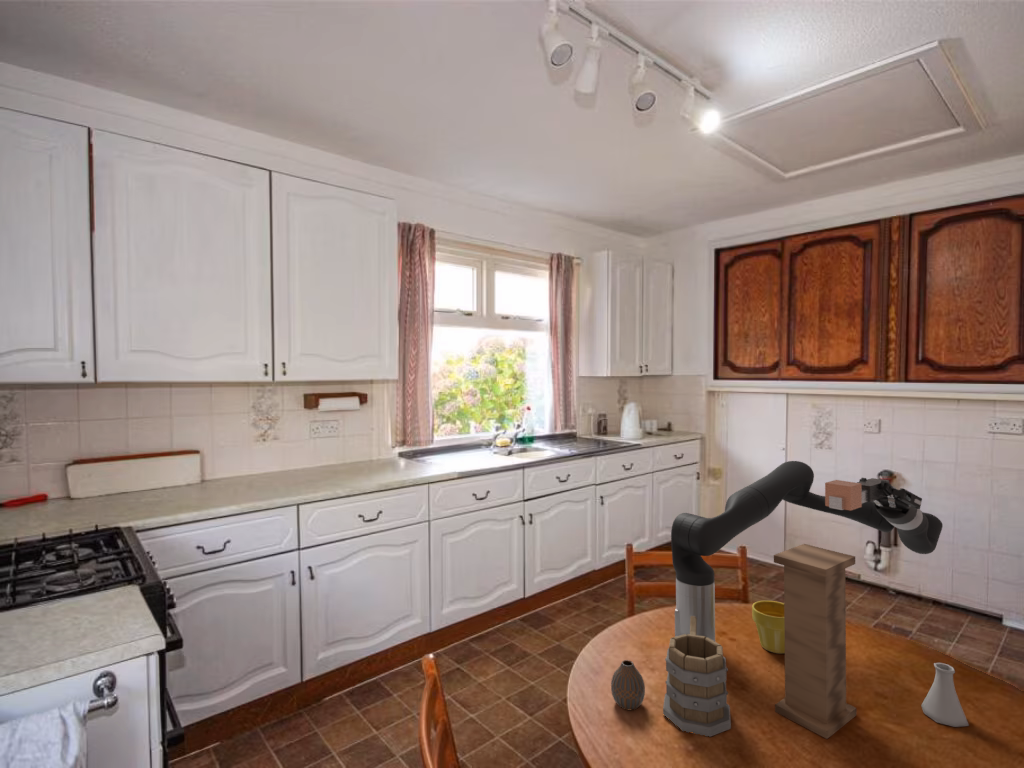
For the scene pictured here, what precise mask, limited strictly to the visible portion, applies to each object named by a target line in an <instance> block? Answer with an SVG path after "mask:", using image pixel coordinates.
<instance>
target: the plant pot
mask: <svg viewBox="0 0 1024 768" xmlns="http://www.w3.org/2000/svg"><path fill="white" fill-rule="evenodd" d="M751 615H752V616H751V617H752V620H753V622H754V623H755V626H756V630H757V633H758V634H757V635H758V638H759V643H760V645H761V647H762V648H763V649H764V650H766V651H768V652H769V653H770V652H771V653H772V654H773V653H774V654H780V655H781V654H784V655H785V627H784V602H780V601H776V600H775V601H774V600H758V601H756V602H754V603H753V604H752V605H751Z"/></svg>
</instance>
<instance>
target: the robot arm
mask: <svg viewBox="0 0 1024 768" xmlns="http://www.w3.org/2000/svg"><path fill="white" fill-rule="evenodd" d="M814 480H815V474H814V471H813V469H812V467H811V466H809V465H808V464H807V463H805V462H803V461H800V460H789V461H785V462H783V463H781V464H780V465H778V466H777V467H776V468H774V469H773V470H772V471H771V472H769V473H768V474H767V475H765V476H763V477H761V478H759V479H757V480H755V481H754V482H752V483H750V484H748V485H747V486H744V487H743V488H741V489H739V490H737V491H735V492H734V493H733V494H731V495H729V497H728V498H727V500H726V501H725V502H726V503H725V505H724V506H725V507H724V511H723V512H722V513H721V514H719V515H717V516H714V517H705V516H701V515H696V514H693V513H689V512H682V513H680V514H678V515H677V516H676V517H675V518H674V520H673V522H672V526H671V531H670V539H671V540H670V541H671V543H670V544H671V561H672V565H673V566H672V567H673V569H674V571H675V602H676V603H675V609H674V637H676V636H680V635H683V634H686V635H687V634H690V617H691V616H695V617H696V618H697V635H699V636H705V637H706V638H707V637H708V638H710V639H711V640H713V641H715V642H716V604H715V603H716V602H715V601H716V597H715V595H716V594H715V593H716V591H715V589H716V587H715V583H716V582H715V571H714V568H712V566H711V565H710V564H709V563H707V562H706V560H705V559H704V558H703V557H710V556H712V555H714V554H716V553H717V552H718V551H720V550H721V549H723V547H724V546H726V545H727V544H728V543H729V542H731V541H732V540H733V539H734V538H736V537H737V536H738V535H740V534H742V533H743V532H744V531H745V530H747V529H749V528H750V527H753V526H754V525H756V524H758V523H759V522H760V521H761V522H762V521H763V520H764V519H766V518H767V517H769V516H770V515H771V514H772V513H773V512H774V511H775V510H776V508H777V507H778V506H779V505H780V503H781V502H782V501H784V502H787V503H789V504H793V505H796V506H800V507H803V508H806V509H807V508H808V509H811V510H815V511H819V512H823V513H826V514H827V513H828V514H831V515H835V516H839V517H842V518H845V519H849V520H851V521H854V522H856V523H857V522H858V523H859V524H861V525H864V526H868V527H870V528H873V529H876V530H878V531H879V532H883V533H890V532H892V530H893V529H894V528H896V531H897V534H898V538H899V539H900V541H901V542H902V544H903V546H905V547H906V548H907V549H909V550H910V551H911V552H914V553H916V554H920V555H928V554H931V553H933V552H934V551H935V549H936V548H937V544H938V542H939V540H940V537H941V533H942V530H943V523H942V520H941V519H940V518H939V517H937V516H935V515H933V514H932V513H928V512H924V511H922V510H921V507H922V506H921V505H922V502H923V498H922V497H920V496H918V495H916V494H914V493H912V492H911V491H909V490H908V489H905V488H902V487H901V488H899V489H898V488H897V487H896V486H894V485H891V484H890V482H889V483H887V482H886V481H884V480H885V479H882V480H881V485H880V489H881V490H882V491H883V492H884V493H885V494H886V495H888V496H887V497H884V498H881V499H878V500H875V501H872V502H865V503H862V507H860V508H857V509H854V510H851V511H850V510H845V509H844V510H838V509H833V508H829V506H825V495H819V494H816V493H813V492H812V491H811V488H812V485H813V482H814ZM864 480H868V479H867V478H866V477H861V478H860V479H859V481H858V482H860V481H864ZM702 556H703V557H702Z"/></svg>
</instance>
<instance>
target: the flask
mask: <svg viewBox="0 0 1024 768" xmlns="http://www.w3.org/2000/svg"><path fill="white" fill-rule="evenodd" d="M933 666H934V668H935V676H934V680H933V683H932V685H931V687H930V688H929V691H928V693H927V694H926V697H924V700H923V702H922V703H921V709H922V712H923V714H925V715H926V716H927V717H928V718H930V719H931V720H933V721H934V722H936V723H938V724H941V725H946V726H950V727H954V728H960V727H970V724H969V722H968V719H967V717H966V714H965V711H964V710H963V707H962V705H961V702H960V700H959V696H958V695H957V694H958V693H957V692H956V688H955V682H954V674H955V673H956V671H955V670H956V669H955V668H954V667H953V666H952V665H950V664H948V663H947V664H946V663H943V662H934V663H933Z"/></svg>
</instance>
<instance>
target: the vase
mask: <svg viewBox="0 0 1024 768" xmlns="http://www.w3.org/2000/svg"><path fill="white" fill-rule="evenodd" d="M610 684H611V685H610V686H611V687H610V688H611V689H610V690H611V695H612V698H613V700H614V702H615V703H616V705H618V706H619V707H620V708H621V707H622V708H621V709H623V708H625V709H634V710H637V708H640V706H641V705H642V703H643V701H644V698H645V693H646V686H645V682H644V679H643V676H642V674H641V673H640V671H639V670H638V669H637V667H636V665H635V664H634V662H633V661H631V660H628V659H624V660H622V661H621V663H620V665H619V667H618V668H617V669H616V670H615V671H614V673H613V675H612V677H611V682H610ZM625 709H624V710H625Z"/></svg>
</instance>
